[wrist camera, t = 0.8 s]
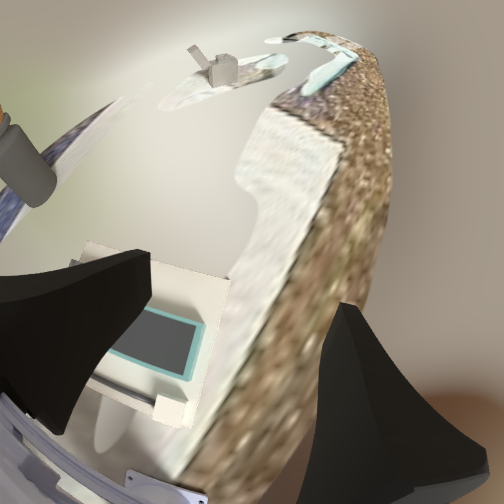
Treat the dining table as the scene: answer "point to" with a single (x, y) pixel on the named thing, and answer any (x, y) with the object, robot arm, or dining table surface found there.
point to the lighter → (217, 67)
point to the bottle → (23, 165)
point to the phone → (162, 343)
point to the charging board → (151, 382)
